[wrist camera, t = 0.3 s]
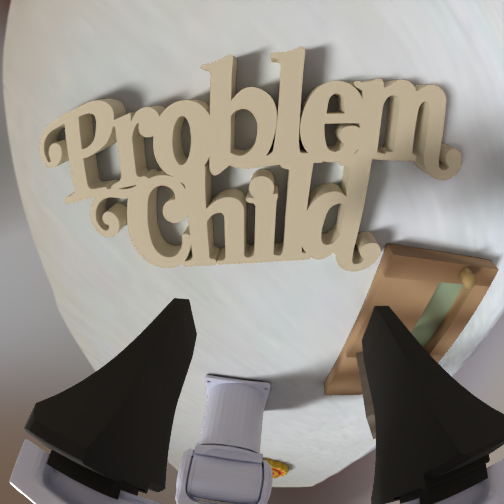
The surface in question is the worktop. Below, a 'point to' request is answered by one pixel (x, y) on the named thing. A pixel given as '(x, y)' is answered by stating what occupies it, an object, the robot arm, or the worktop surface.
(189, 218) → the decorative sign
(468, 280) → the board
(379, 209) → the worktop surface
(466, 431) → the robot arm
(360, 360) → the metal block
